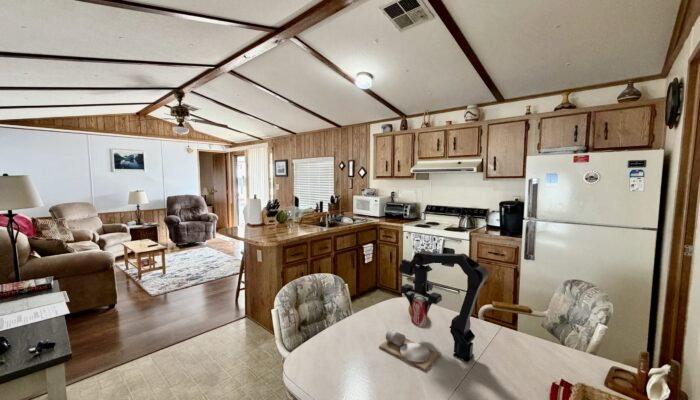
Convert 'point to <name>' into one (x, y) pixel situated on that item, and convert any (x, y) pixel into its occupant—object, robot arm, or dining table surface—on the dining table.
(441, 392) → the dining table surface
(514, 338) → the dining table surface
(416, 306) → the soda can
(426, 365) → the duct board
